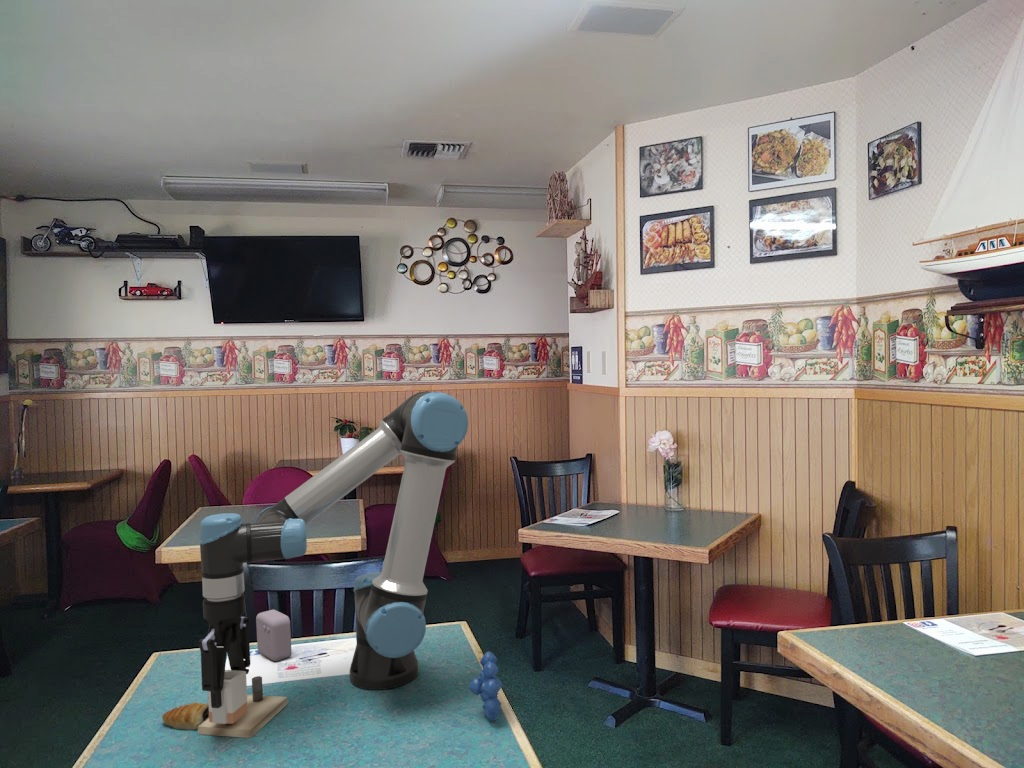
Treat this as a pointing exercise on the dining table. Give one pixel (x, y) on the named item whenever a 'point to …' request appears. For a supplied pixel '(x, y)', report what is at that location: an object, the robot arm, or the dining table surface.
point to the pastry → (187, 716)
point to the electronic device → (273, 635)
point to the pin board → (248, 714)
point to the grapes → (488, 686)
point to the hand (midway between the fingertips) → (228, 715)
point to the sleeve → (233, 695)
